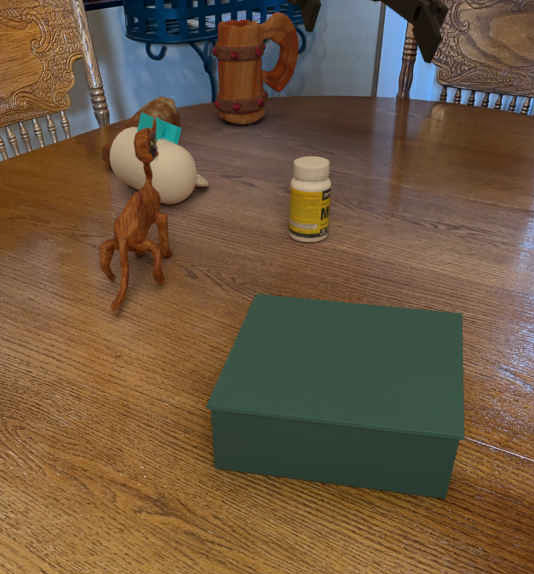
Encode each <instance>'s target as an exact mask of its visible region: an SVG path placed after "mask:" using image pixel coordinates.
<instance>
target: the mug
mask: <svg viewBox="0 0 534 574" xmlns="http://www.w3.org/2000/svg"><path fill="white" fill-rule="evenodd" d="M268 39H269V40H270V41H272V42H273V43H275V44H276V45H278V46H279V52H278V59H277V62H276V63H275V66H274V67H273V68H272V69H271V70H269V71H267V70H263V60H262V57H263V56H264V55H265V50H266V44H265V43H264V41H265V40H268ZM299 47H300V45H299V36H298V32H297V30H296V28H295V25H294V23H293V21H292V20H291V19H290V18H289V16H288V15H286V13H285V14H284V13H283V12H280V11H279V12H278V11H276V12H274V13H272V14H271V15H270V16H269V17H268V18H267V19H266V20H265V22H263V23H259V22H258V21H256V20H251V21H250V19H239V20H238V21H237V20H235V19H229V20H225V21H220V22H219V23H218V24H217V41H216V42H215V44H214V48H213V49H212V50H211V51H212V53H211V54H212V55H213V56H214V57H215V58H216V59H217V73H218V74H217V75H218V93H217V94H216V97H215V98H216V99H215V100H214V102H213V107H215V108H216V109H217V110H219V117H220V118H221V120H224V121H226V122H228V123H230V124H232V125H236V126H237V125H239V126H242V125H243V126H245V125H250V124H253V123H256V122H258V121H260V120H261V118H263V117H264V116H265V114H266V105H267V99H268V98H269V93H268V91H267V90H265V89H264V84H265V85H267V87H269V88H271V89H272V90H273V91H275V92H276V93H281V92H282V91H283V90H284V89H285V88H286V87H287V85H288V84H289V82H290V81H291V79H292V77H293V75H294V74H295V70H296V67H297V63H298V58H299V49H300V48H299Z"/></svg>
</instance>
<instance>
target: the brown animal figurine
mask: <svg viewBox="0 0 534 574" xmlns="http://www.w3.org/2000/svg"><path fill="white" fill-rule="evenodd" d="M156 142H157V139H156V119H155V118H154V119H153V126H152V128H148V127H147V128H144V129H141V130H139V131H138V132H137V133H136V134H135V138H134V148H135V155H136V157H137V158H138V160H139V161H141V162H143V164H144V166H143V168H144V172H145V176H146V181H145V184H144V186H143V187H142V188H141V189H140V190H137V191H136V192H133V194H132V195H131V196H130V198H129V199H128V201H127V203H126V205H124V208H123V209H122V211H121V212H120V213H119V215H118V216H117V217H116V218H115V219H114V221H113V226H112V230H113V238H109V239H106V240H104V241H102V242H101V243H100V245H99V247H98V254H99V266H100V269H101V270H102V272H103V274H104V275H105V276H106V278H107V280H109V281H110V282H111V283H113V282H114V281H115V279H116V274H115V273H113V271H112V268H111V262H112V259H113V257H114V253H115V251H119V261H120V283H119V286H118V287H119V289H118V291H117V294H116V296H115V298H114V300H113V302H112V304H111V306H110V311H111V312H118V310H119V309H120V307H121V306H122V305H123V303H124V301H125V299H126V296H127V294H128V289H129V282H130V281H129V280H130V258H129V252H131V253H134V255H136V256H139V257H142V256H144V255H145V254H146V253H147V252H148V253H151V254H152V255H151V256H152V276H153V278H154V280H155V281H156V284H157V285H158V286H160V285H162V284H163V283H164V282H165V281H166V276H165V275H164V271H163V268H162V267H163V266H162V262H163V258H169V257H172V255H173V254H174V253H173V251H171V248H170V240H169V238H170V237H169V225H168V224H169V223H168V221H169V220H168V219H169V214H167V213H165V212H160V207H161V206H160V205H161V202H160V200H161V198H160V194H159V192H158V191H157V190H156V189H155V188H154V187H153V186H152V177H153V174H152V170H151V167H150V163H151V162H153V160H156V161H157V159H158V154H159V153H158V151H157V145H156ZM154 224H155V225H156V228H157V231H158V242H156V241H153V240H152V239H149V238H148V234H149V231H150V230H151V227H152V225H154Z"/></svg>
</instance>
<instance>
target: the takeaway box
mask: <svg viewBox="0 0 534 574" xmlns="http://www.w3.org/2000/svg"><path fill="white" fill-rule="evenodd" d="M463 323H464V322H463V313H462V312H453V311H443V310H432V309H422V308H421V309H420V308H411V307H401V306H399V307H398V306H391V305H390V306H389V305H378V304H369V303H366V304H365V303H359V302H358V303H357V302H348V301H335V300H325V299H316V298H305V297H295V296H294V297H293V296H283V295H273V294H263V293H262V294H261V293H255V294H254V296H253V299H252V302H251V304H250V306H249V308H248V311H247V313H246V315H245V317H244V320H243V322H242V324H241V327H240V328H239V331H238V333H237V335H236V338H235V339H234V342H233V344H232V347H231V349H230V351H229V354H228V356H227V358H226V359H225V362H224V365H223V367H222V369H221V372H220V373H219V376H218V378H217V380H216V383H215V385H214V387H213V389H212V391H211V394H210V396H209V399H208V400H207V403H206V404H205V405H206V410H207V411H210V421H211V435H212V450H213V451H212V452H213V464H214V465H213V466H214V469H217V470H223V471H232V472H239V473H247V474H253V475H254V474H255V475H262V476H270V477H277V478H284V479H292V480H299V481H307V482H314V483H322V484H323V483H324V484H330V485H338V486H345V487H352V488H360V489H367V490H374V491H381V492H390V493H397V494H403V495H404V494H405V495H412V496H413V495H414V496H421V497H428V498H429V497H430V498H434V499H435V498H436V499H443V500H446V498H447V495H448V491H449V487H450V483H451V478H452V475H453V470H454V465H455V462H456V457H457V452H458V448H459V444H460V441H464V439H465V400H464V399H465V393H464V392H465V390H464V388H465V386H464V385H465V383H464V331H463V330H464V328H463V325H464V324H463Z"/></svg>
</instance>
